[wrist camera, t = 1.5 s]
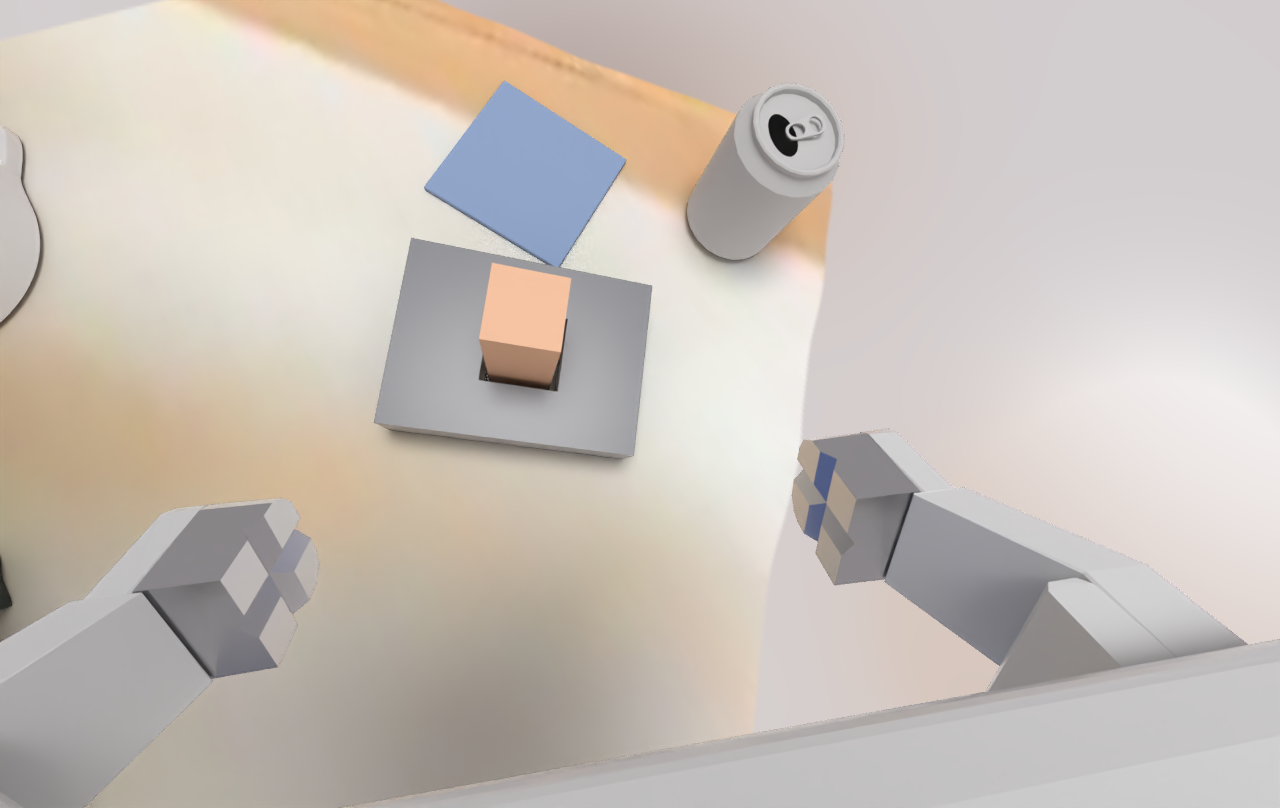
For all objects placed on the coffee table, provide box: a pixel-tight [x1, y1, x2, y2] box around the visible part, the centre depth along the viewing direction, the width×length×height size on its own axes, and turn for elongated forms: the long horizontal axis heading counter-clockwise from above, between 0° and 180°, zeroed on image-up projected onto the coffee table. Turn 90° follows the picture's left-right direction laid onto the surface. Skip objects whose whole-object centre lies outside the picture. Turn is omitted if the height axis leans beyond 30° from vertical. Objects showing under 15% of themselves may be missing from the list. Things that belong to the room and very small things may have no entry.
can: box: [687, 83, 845, 260], centre depth 37 cm, size 8×8×12 cm
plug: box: [479, 263, 571, 390], centre depth 32 cm, size 4×4×12 cm
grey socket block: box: [374, 238, 652, 459], centre depth 36 cm, size 16×12×4 cm
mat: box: [424, 81, 626, 267], centre depth 40 cm, size 11×11×1 cm
